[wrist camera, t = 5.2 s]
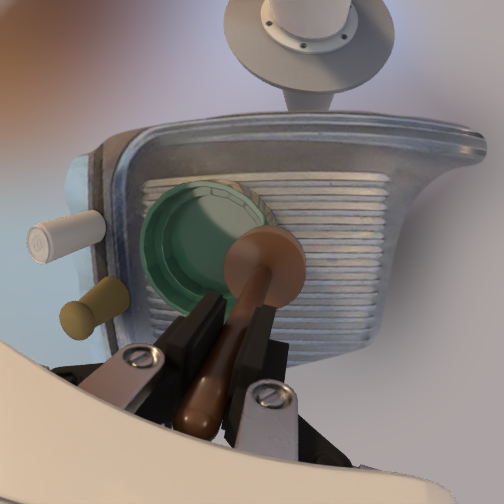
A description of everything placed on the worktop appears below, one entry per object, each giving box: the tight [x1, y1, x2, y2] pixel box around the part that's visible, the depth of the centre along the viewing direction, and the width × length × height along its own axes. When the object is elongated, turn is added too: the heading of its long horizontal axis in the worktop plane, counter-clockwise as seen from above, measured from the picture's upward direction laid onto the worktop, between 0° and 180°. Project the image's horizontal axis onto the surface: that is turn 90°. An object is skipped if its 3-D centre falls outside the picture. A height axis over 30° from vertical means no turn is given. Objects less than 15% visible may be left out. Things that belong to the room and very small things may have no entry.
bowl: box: [139, 179, 278, 321], centre depth 33 cm, size 15×15×6 cm
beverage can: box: [27, 210, 106, 264], centre depth 33 cm, size 5×5×12 cm
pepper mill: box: [59, 276, 130, 340], centre depth 36 cm, size 6×6×11 cm
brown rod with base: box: [172, 225, 306, 442], centre depth 13 cm, size 5×5×16 cm
